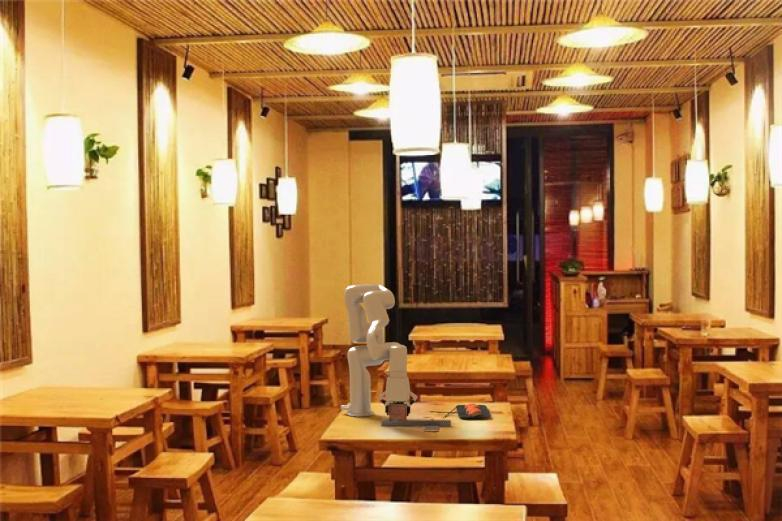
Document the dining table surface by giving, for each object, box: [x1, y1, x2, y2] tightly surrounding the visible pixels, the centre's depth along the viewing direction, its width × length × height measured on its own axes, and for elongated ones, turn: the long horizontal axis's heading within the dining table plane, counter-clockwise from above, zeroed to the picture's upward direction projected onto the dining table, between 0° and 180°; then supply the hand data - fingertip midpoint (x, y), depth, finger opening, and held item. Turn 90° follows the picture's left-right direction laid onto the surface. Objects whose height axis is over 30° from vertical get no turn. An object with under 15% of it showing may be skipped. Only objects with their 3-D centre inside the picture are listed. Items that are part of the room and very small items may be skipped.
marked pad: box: [423, 425, 440, 433], centre depth 364 cm, size 6×11×1 cm, turn 175°
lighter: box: [388, 401, 408, 422], centre depth 366 cm, size 8×3×10 cm, turn 71°
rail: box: [380, 417, 452, 427], centre depth 371 cm, size 30×2×3 cm, turn 85°
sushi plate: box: [429, 403, 492, 420], centre depth 396 cm, size 29×30×4 cm
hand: (397, 414), depth 366 cm, fingers closed on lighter, 8 cm apart
